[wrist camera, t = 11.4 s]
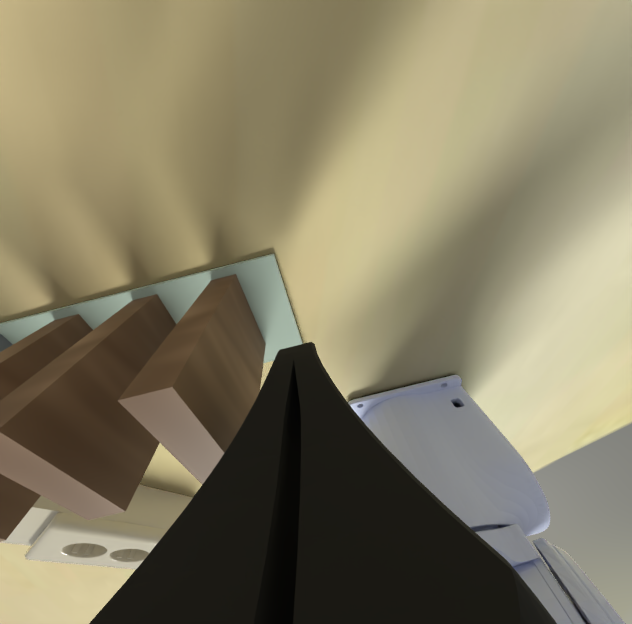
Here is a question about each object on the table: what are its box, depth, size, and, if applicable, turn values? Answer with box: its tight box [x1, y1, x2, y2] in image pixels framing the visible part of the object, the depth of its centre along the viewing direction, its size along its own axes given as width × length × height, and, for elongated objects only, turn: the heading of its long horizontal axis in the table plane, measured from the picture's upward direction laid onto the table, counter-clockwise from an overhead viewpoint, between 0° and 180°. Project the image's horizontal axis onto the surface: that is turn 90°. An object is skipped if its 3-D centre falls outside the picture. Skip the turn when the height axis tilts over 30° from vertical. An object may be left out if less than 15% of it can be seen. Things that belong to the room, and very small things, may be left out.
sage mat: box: [0, 253, 303, 363], centre depth 14 cm, size 20×7×1 cm, turn 103°
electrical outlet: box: [1, 485, 193, 569], centre depth 20 cm, size 7×4×18 cm
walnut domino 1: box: [0, 314, 93, 542], centre depth 10 cm, size 1×5×8 cm, turn 13°
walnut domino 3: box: [117, 274, 266, 485], centre depth 10 cm, size 1×5×8 cm, turn 13°
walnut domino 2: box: [0, 294, 177, 520], centre depth 10 cm, size 1×5×8 cm, turn 13°
